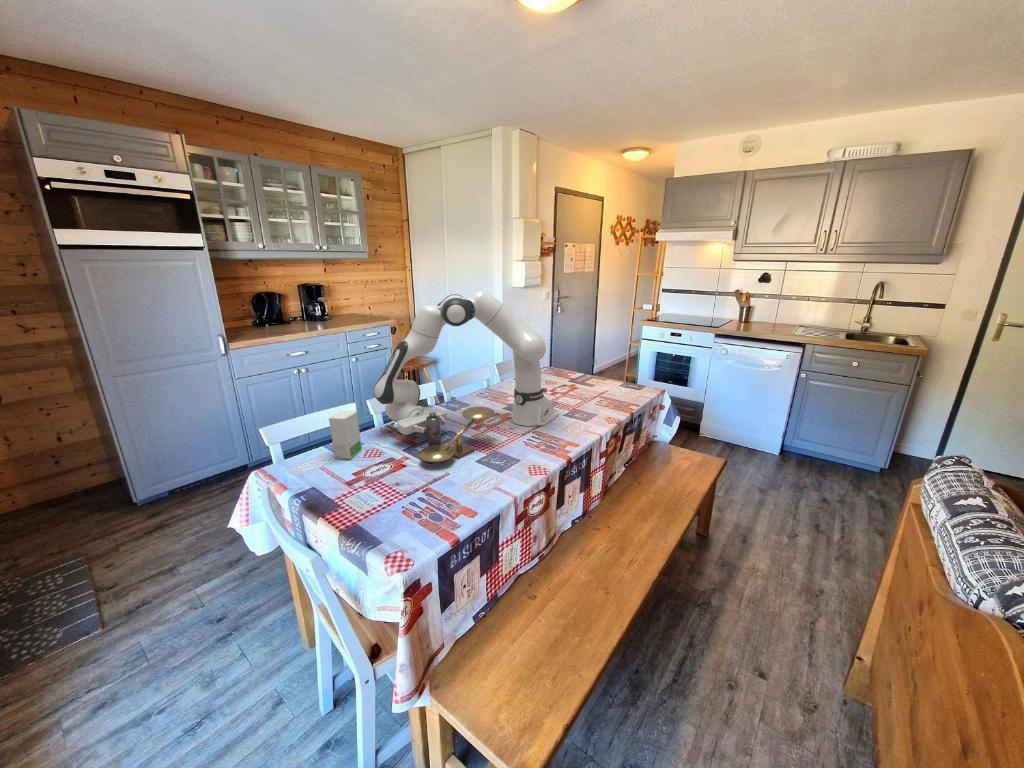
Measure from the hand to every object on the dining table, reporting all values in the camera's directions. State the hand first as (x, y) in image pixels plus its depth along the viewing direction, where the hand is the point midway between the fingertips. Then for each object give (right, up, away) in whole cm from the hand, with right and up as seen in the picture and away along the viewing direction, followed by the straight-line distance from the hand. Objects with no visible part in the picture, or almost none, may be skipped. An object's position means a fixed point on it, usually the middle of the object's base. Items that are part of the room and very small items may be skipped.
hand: (435, 426), depth 153 cm
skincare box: (-31, -10, -5) cm, 33 cm away
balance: (+10, -9, -4) cm, 14 cm away
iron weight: (-1, -7, +3) cm, 8 cm away
